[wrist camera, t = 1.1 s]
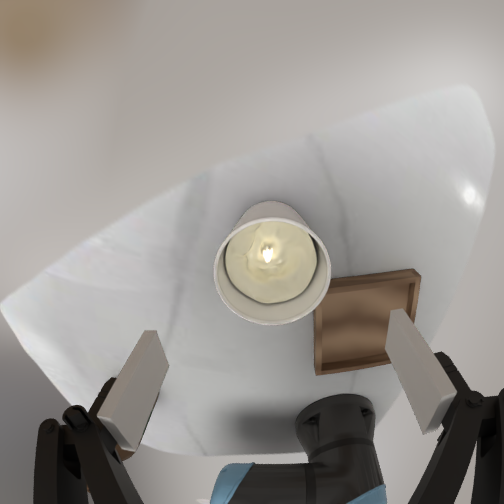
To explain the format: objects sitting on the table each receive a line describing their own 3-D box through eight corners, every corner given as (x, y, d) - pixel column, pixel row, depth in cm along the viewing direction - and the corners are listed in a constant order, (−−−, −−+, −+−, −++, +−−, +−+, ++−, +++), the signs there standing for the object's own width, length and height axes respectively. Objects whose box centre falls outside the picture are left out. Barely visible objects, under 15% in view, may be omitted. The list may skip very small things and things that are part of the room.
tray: (400, 350, 40) (405, 360, 38) (313, 364, 42) (315, 375, 39) (413, 268, 35) (421, 276, 33) (312, 280, 37) (315, 289, 34)
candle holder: (244, 182, 33) (233, 200, 22) (323, 210, 34) (350, 242, 22) (220, 257, 36) (200, 307, 25) (294, 281, 37) (304, 337, 26)
